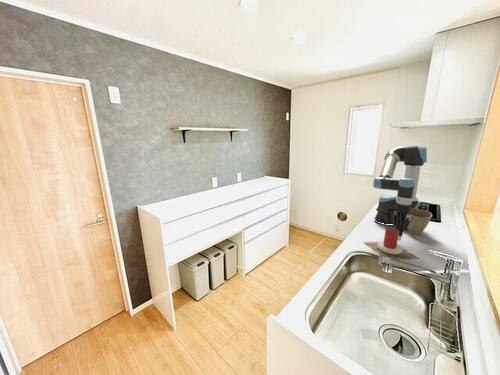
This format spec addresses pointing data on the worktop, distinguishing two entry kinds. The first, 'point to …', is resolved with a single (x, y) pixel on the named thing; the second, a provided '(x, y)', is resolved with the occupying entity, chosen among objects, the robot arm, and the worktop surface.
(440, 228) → the worktop surface
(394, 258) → the board
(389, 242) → the beer can
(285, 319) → the worktop surface
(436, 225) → the worktop surface
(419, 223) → the plant pot
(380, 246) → the white oval dish
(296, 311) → the worktop surface
